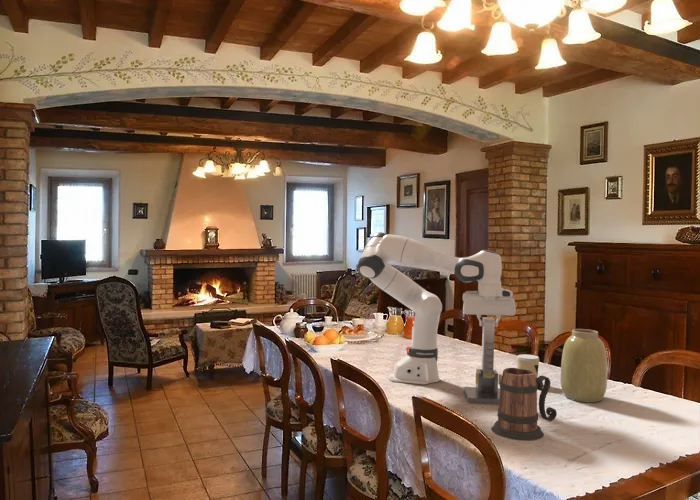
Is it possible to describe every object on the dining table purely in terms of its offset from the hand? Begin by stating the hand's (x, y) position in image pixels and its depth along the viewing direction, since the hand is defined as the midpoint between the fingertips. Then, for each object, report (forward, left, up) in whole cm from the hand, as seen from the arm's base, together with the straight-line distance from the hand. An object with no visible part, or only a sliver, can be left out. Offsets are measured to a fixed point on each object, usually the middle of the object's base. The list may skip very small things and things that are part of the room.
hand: (488, 326), depth 223 cm
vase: (+39, +7, -29) cm, 49 cm away
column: (0, 0, -20) cm, 20 cm away
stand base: (0, 0, -29) cm, 29 cm away
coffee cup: (+21, +25, -29) cm, 44 cm away
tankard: (+8, -36, -29) cm, 46 cm away
